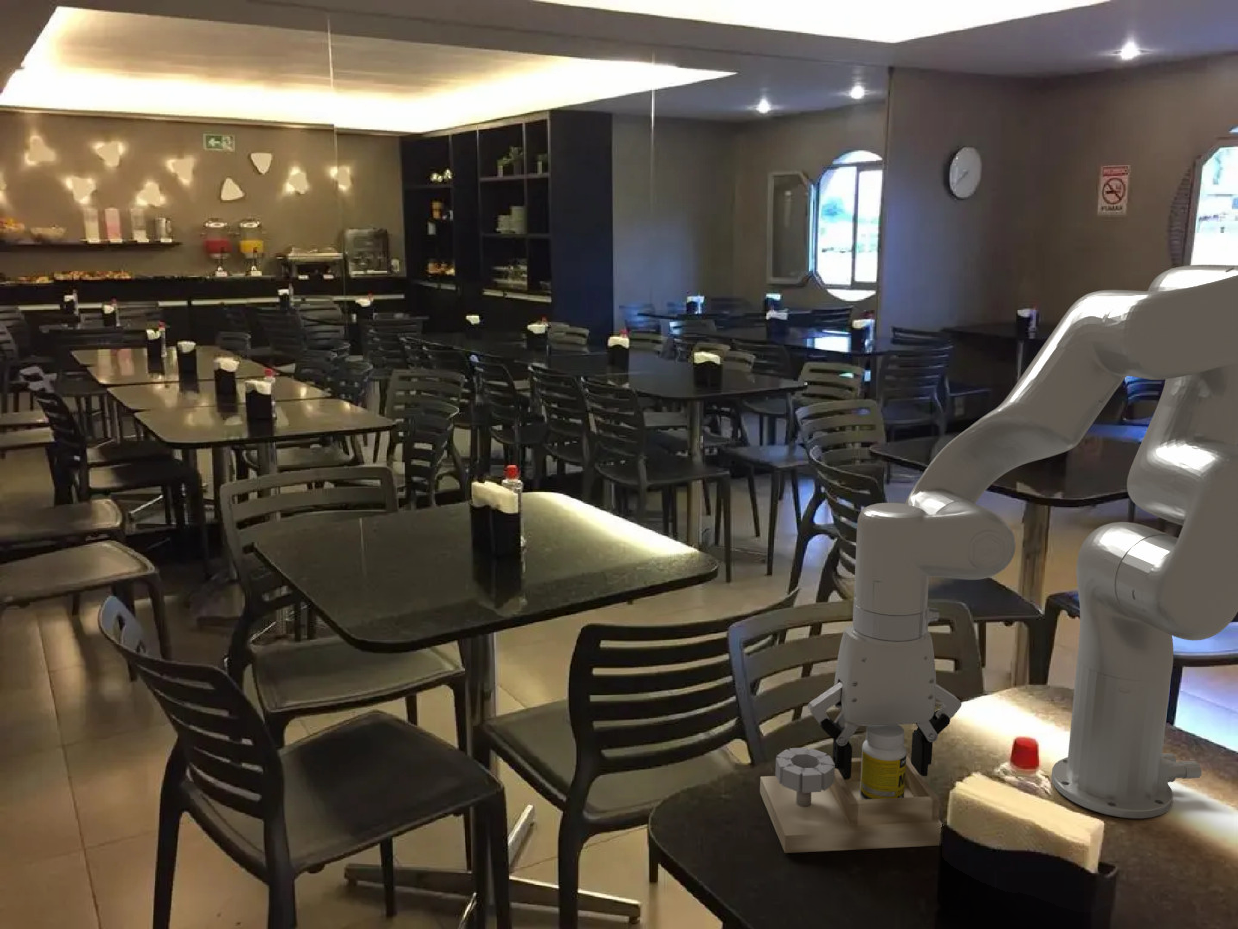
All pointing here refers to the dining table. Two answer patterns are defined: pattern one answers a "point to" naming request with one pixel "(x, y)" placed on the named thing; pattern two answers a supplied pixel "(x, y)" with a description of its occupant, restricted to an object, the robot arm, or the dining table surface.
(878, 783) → the supplement bottle
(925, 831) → the wooden peg tray
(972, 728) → the dining table surface
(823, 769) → the wheel
